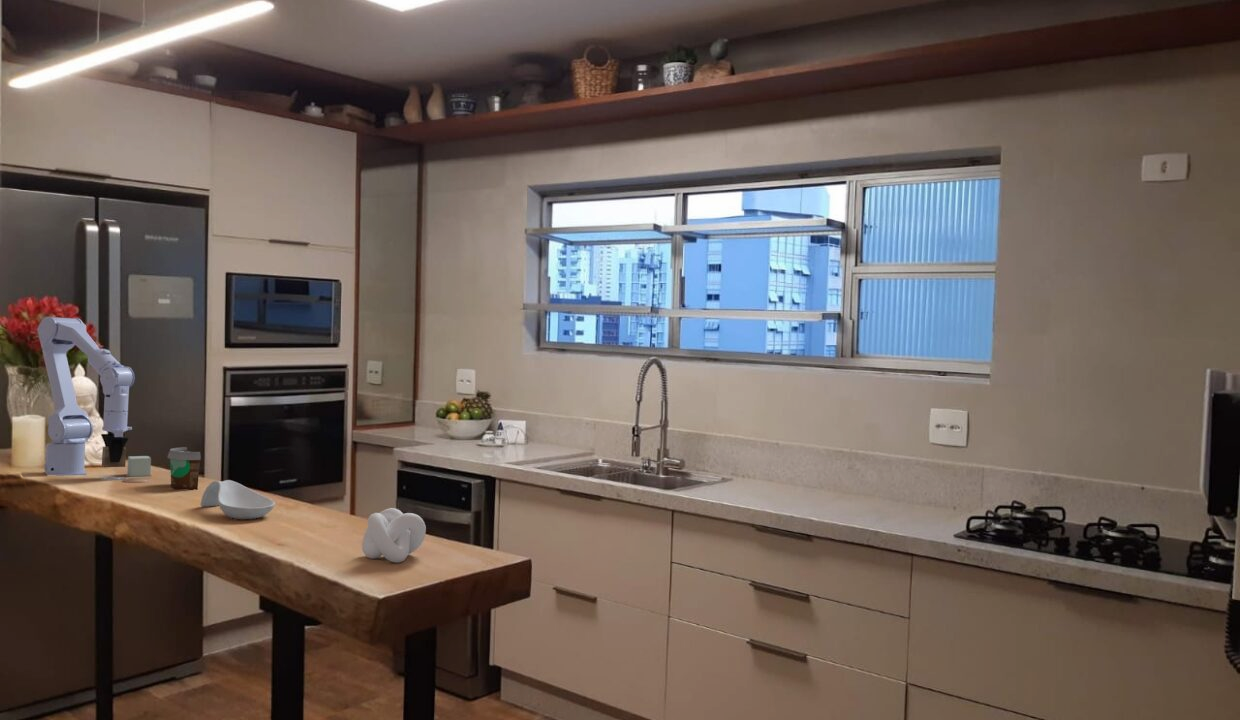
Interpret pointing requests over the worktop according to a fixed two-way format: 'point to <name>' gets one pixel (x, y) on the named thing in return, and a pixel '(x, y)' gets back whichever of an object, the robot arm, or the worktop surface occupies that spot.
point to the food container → (184, 468)
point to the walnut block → (108, 463)
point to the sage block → (139, 466)
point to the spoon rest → (236, 500)
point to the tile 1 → (112, 478)
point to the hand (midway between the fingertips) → (113, 460)
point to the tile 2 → (136, 476)
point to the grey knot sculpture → (393, 535)
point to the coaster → (137, 480)
